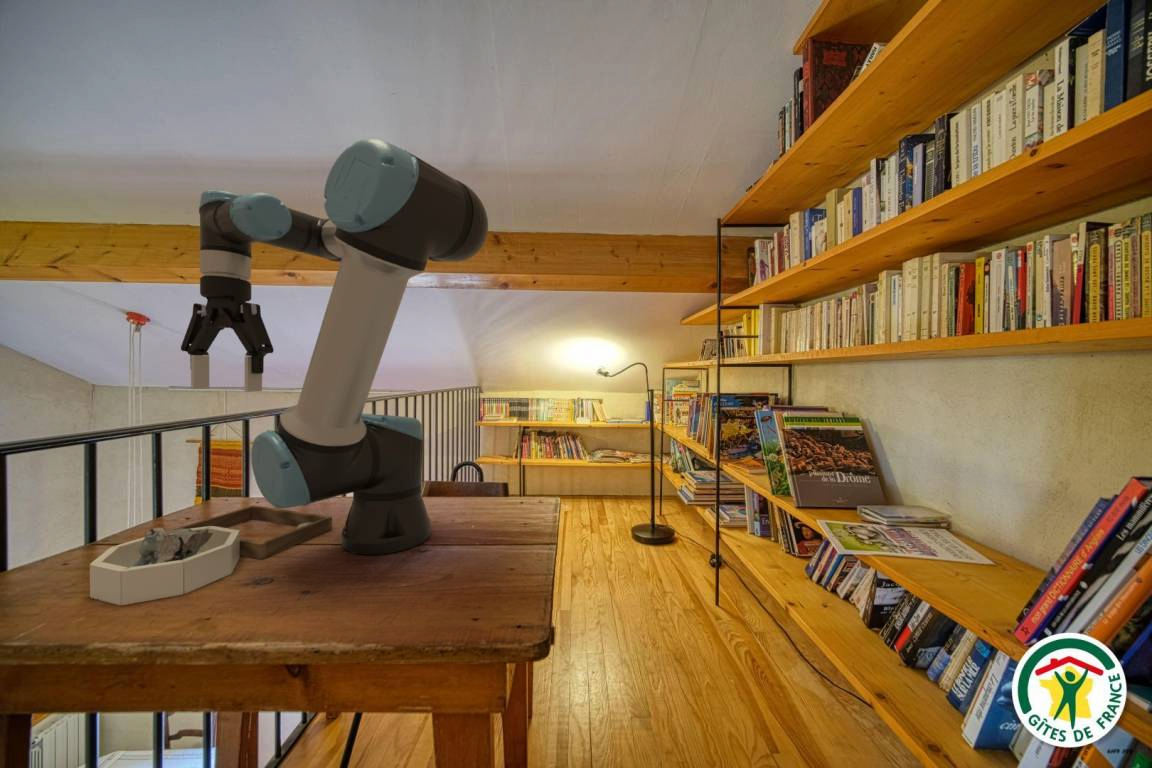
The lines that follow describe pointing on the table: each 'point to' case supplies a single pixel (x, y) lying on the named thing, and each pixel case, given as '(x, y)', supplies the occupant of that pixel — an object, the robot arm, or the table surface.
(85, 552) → the table surface
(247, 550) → the frame
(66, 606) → the table surface
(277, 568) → the table surface
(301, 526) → the pebble
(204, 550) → the bowl
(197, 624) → the table surface
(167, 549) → the mineral specimen
